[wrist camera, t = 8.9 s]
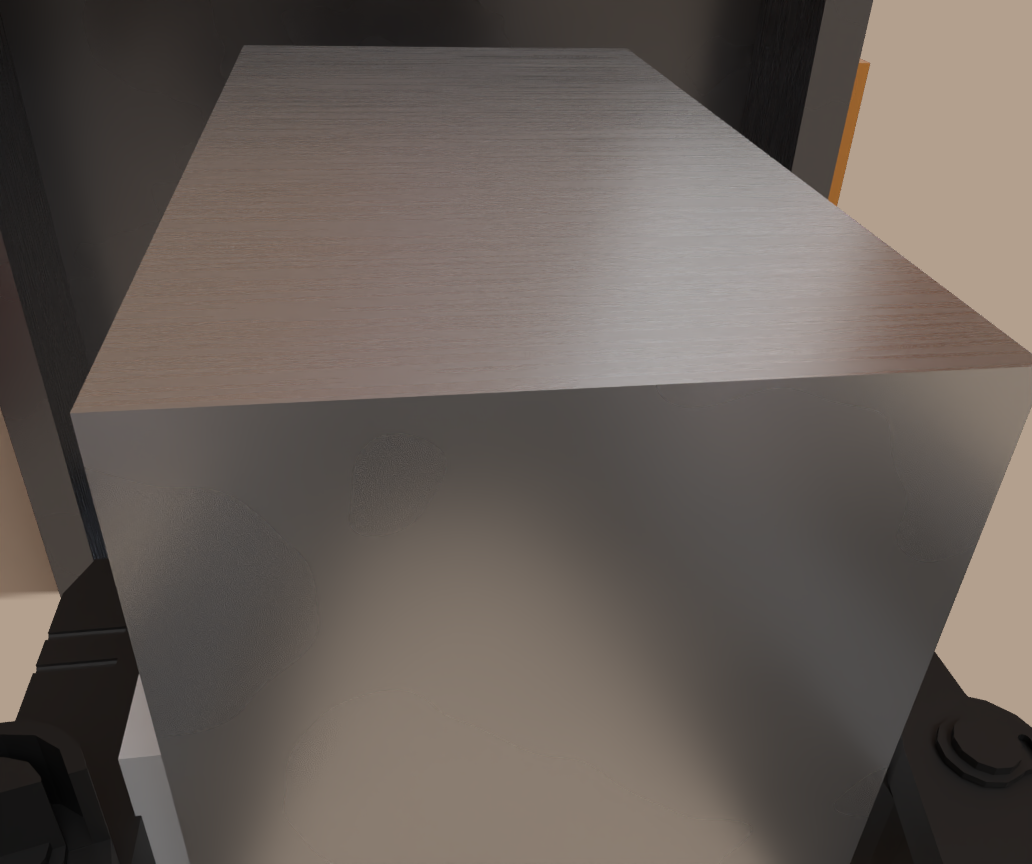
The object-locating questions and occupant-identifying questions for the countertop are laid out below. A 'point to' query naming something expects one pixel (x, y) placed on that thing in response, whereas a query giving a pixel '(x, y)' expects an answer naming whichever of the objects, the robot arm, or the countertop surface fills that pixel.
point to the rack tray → (189, 104)
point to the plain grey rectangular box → (528, 472)
